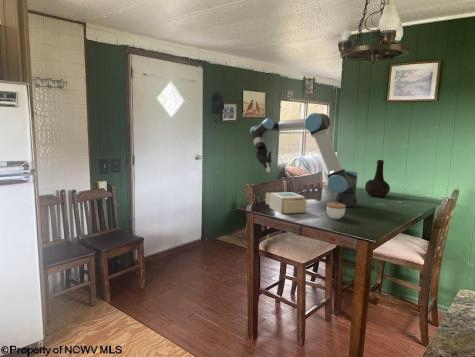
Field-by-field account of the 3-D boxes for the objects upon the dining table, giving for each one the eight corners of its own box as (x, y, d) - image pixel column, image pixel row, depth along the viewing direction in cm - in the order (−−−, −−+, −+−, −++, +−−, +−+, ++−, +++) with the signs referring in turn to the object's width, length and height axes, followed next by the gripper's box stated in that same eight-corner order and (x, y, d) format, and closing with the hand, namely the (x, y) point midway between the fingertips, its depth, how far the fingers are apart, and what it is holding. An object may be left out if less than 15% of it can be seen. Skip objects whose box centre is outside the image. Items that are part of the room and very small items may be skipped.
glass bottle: (368, 192, 292) (371, 158, 287) (391, 196, 281) (395, 160, 277) (361, 195, 277) (364, 159, 273) (385, 199, 267) (389, 161, 263)
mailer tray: (265, 203, 235) (266, 192, 234) (283, 202, 240) (284, 191, 239) (286, 213, 211) (286, 201, 210) (305, 212, 217) (306, 200, 216)
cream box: (269, 207, 227) (270, 193, 226) (291, 206, 234) (292, 191, 232) (280, 213, 215) (281, 197, 213) (303, 211, 221) (304, 196, 220)
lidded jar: (345, 220, 204) (346, 204, 203) (325, 219, 207) (327, 203, 205) (343, 216, 215) (345, 200, 213) (325, 214, 217) (326, 199, 215)
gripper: (266, 148, 266) (275, 174, 254) (249, 147, 261) (258, 174, 249) (269, 141, 261) (279, 168, 249) (253, 141, 256) (262, 168, 243)
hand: (268, 171), depth 249 cm, fingers closed
